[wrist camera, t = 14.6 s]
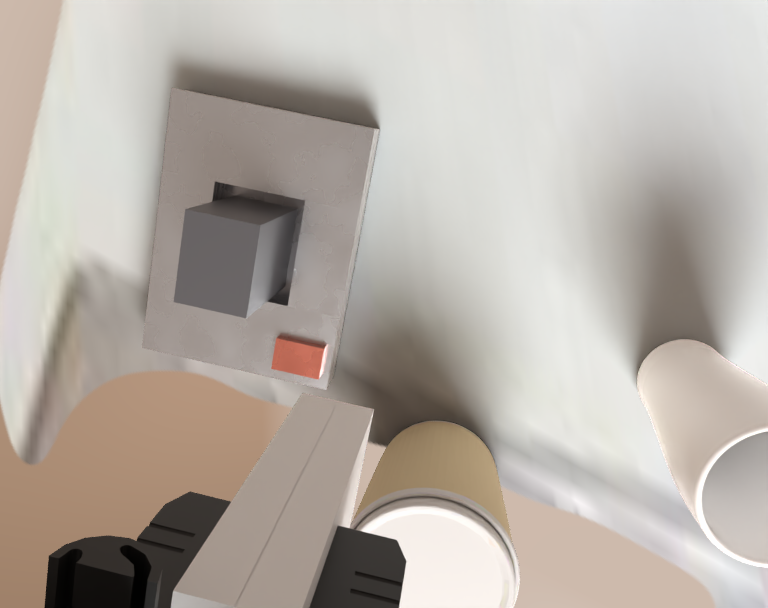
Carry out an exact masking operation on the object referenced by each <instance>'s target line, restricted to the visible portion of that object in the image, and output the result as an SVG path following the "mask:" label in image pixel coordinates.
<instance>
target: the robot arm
mask: <svg viewBox="0 0 768 608" xmlns="http://www.w3.org/2000/svg"><path fill="white" fill-rule="evenodd" d="M373 412H374V409H371V408H367V407H362V406H358V405H354V404H350V403H345V402H341V401H337V400H332V399H328V398H324V397H319V396H315V395H311V394H306V393H302V395H301V396H300V398H299V399H298V401H297V402H296V404H295V405H294V407H293V408H292V410H291V411H290V413H289V415H288V416H287V418H286V419H285V421H284V422H283V424H282V425H281V427H280V428H279V430H278V431H277V433H276V435H275V436H274V437H273V439H272V440H271V442H270V444H269V445H268V447H267V448H266V450H265V451H264V453H263V455H262V456H261V458H260V459H259V460H258V462H257V463H256V465H255V467H254V468H253V469H252V471H251V473H250V474H249V476H248V477H247V479H246V480H245V482H244V483H243V485H242V486H241V488H240V489H239V491H238V492H237V494H236V495H235V497H234V499H233V500H232V502H230V501H226V500H222V499H218V498H214V497H210V496H205V495H202V494H197V493H193V492H188V493H186V494H184V495H182V496H181V497H179V498H177V499H175V500H173V501H171V502H169V503H167V504H165V505H164V506H163V508H162V509H161V510H160V511H159V512H158V514H157V515H156V516H155V517H154V518H153V520H152V521H151V522H150V525H149V526H147V527H146V528H145V529H144V531H143V532H142V533H141V534H140V535H139V537H138V539H137V541H135V540H133V539H130V538H123V537H115V536H99V537H90V538H84V539H81V540H78V541H75V542H72V543H69V544H66V545H64V546H63V547H61V548H60V549H58V550H57V551H55V552H54V553H52V554H51V555H50V556H49V562H48V573H47V586H46V599H45V608H399V604H400V599H401V593H402V586H403V580H404V574H405V568H406V559H405V557H404V555H403V552H402V550H401V548H400V546H399V543H398V541H397V540H395V539H391V538H387V537H383V536H379V535H375V534H371V533H367V532H363V531H359V530H354V529H350V524H351V519H352V514H353V510H354V505H355V500H356V495H357V490H358V485H359V480H360V476H361V471H362V466H363V461H364V456H365V451H366V446H367V442H368V437H369V432H370V427H371V422H372V417H373Z"/></svg>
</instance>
